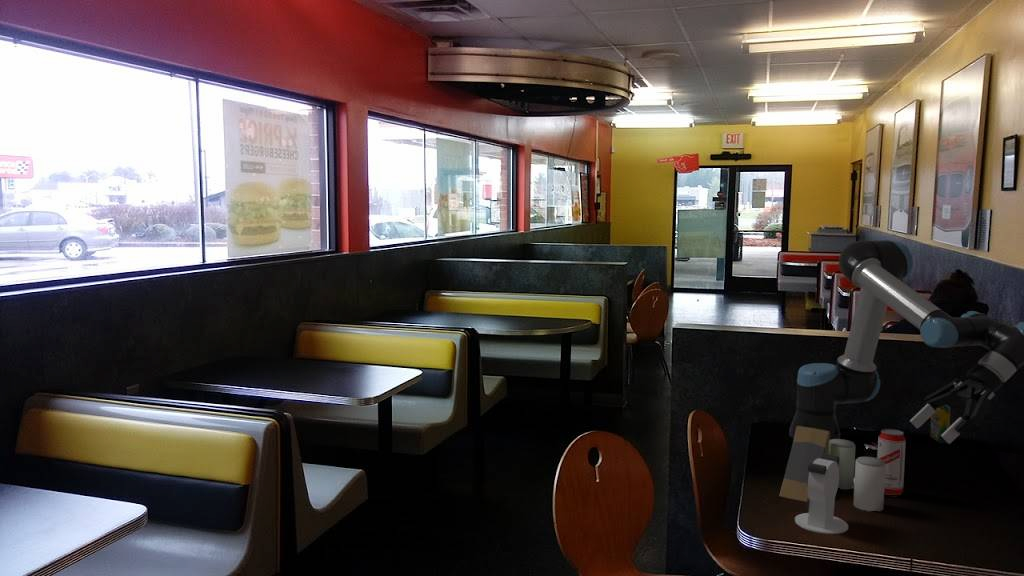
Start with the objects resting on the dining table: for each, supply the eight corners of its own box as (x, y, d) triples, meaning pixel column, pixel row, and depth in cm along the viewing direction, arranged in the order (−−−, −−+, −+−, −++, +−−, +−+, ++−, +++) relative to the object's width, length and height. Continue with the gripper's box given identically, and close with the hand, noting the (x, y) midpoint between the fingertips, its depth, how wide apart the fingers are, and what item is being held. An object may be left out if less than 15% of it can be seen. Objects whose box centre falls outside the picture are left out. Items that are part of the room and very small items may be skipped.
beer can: (880, 486, 198) (884, 427, 197) (906, 493, 194) (909, 431, 192) (871, 492, 194) (874, 431, 193) (897, 499, 190) (901, 436, 188)
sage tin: (821, 480, 203) (823, 438, 202) (846, 480, 203) (848, 438, 202) (833, 489, 196) (835, 446, 195) (858, 489, 196) (860, 446, 195)
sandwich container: (777, 496, 191) (779, 438, 190) (793, 479, 204) (796, 425, 202) (813, 504, 186) (815, 444, 185) (827, 486, 199) (830, 430, 198)
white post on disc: (805, 509, 182) (808, 448, 181) (855, 521, 175) (858, 458, 174) (787, 524, 173) (790, 460, 172) (839, 538, 166) (842, 471, 165)
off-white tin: (848, 501, 188) (850, 456, 187) (874, 501, 188) (877, 456, 187) (861, 511, 181) (864, 464, 180) (888, 511, 182) (891, 464, 180)
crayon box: (929, 436, 245) (931, 401, 244) (939, 437, 245) (941, 401, 244) (938, 443, 238) (941, 407, 237) (949, 443, 237) (951, 407, 236)
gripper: (1035, 395, 179) (970, 457, 180) (968, 373, 204) (910, 428, 205) (1015, 373, 179) (949, 435, 179) (950, 354, 204) (892, 409, 204)
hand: (928, 432), depth 192 cm, fingers open, 13 cm apart
